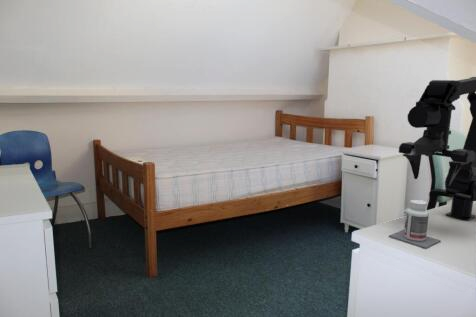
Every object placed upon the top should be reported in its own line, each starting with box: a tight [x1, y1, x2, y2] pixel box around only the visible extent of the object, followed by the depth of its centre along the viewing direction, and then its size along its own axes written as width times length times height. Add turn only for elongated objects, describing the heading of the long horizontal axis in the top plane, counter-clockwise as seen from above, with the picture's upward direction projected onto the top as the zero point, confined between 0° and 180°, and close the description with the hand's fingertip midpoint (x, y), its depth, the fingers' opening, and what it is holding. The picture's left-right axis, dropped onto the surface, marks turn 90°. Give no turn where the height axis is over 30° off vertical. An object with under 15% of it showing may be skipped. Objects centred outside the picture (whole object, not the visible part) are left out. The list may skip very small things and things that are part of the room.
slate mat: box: [388, 229, 442, 250], centre depth 108 cm, size 8×10×1 cm
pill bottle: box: [403, 199, 429, 241], centre depth 107 cm, size 5×5×10 cm
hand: (431, 182), depth 116 cm, fingers open, 9 cm apart
